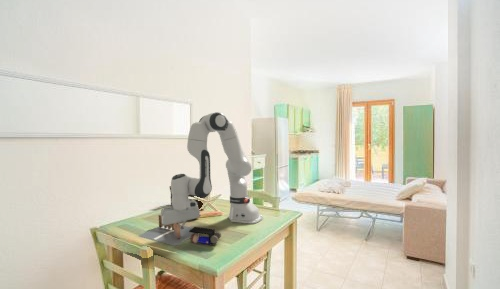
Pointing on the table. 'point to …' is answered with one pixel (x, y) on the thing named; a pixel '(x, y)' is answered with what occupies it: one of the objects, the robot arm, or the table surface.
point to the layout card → (168, 235)
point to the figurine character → (204, 239)
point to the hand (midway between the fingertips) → (181, 229)
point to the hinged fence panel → (177, 229)
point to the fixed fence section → (164, 225)
